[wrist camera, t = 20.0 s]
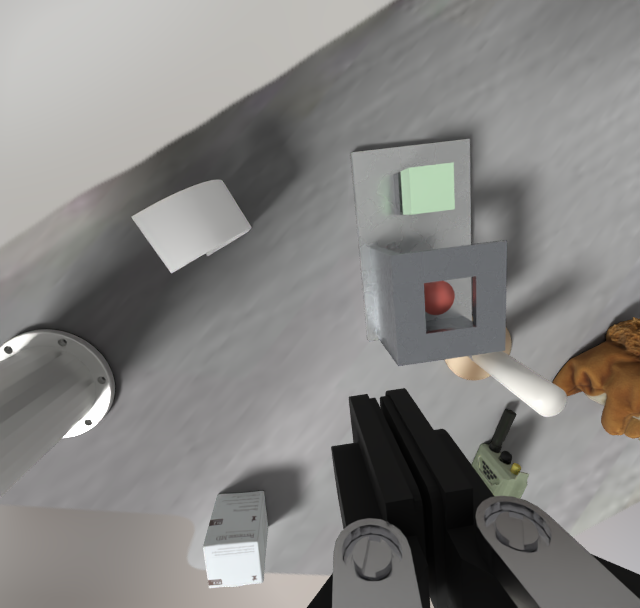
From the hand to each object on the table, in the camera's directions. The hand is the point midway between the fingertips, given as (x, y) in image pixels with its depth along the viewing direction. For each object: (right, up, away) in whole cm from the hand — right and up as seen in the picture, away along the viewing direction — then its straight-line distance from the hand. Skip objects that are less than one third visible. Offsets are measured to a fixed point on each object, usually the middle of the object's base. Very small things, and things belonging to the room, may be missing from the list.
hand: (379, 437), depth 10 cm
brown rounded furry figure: (+34, -3, +34) cm, 48 cm away
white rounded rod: (+17, -1, +31) cm, 35 cm away
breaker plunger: (+9, +6, +27) cm, 29 cm away
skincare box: (-12, -23, +35) cm, 43 cm away
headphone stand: (-12, +13, +26) cm, 31 cm away
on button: (+8, +15, +25) cm, 30 cm away
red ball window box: (+8, +10, +28) cm, 31 cm away
